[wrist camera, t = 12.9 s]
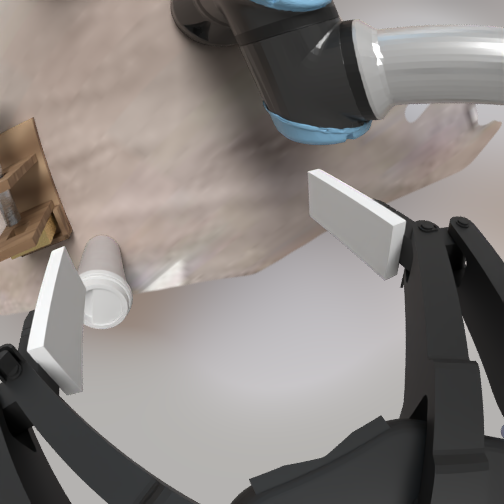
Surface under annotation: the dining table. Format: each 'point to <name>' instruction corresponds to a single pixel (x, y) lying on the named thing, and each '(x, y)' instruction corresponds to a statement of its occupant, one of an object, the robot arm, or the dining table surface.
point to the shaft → (8, 206)
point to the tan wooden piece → (44, 235)
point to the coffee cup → (104, 283)
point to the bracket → (28, 191)
